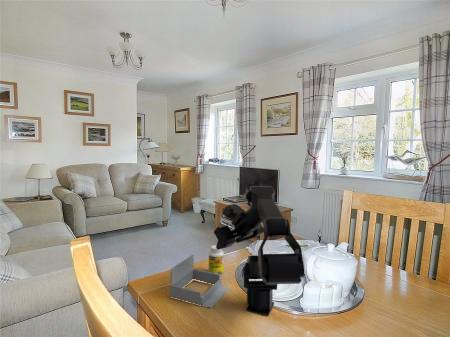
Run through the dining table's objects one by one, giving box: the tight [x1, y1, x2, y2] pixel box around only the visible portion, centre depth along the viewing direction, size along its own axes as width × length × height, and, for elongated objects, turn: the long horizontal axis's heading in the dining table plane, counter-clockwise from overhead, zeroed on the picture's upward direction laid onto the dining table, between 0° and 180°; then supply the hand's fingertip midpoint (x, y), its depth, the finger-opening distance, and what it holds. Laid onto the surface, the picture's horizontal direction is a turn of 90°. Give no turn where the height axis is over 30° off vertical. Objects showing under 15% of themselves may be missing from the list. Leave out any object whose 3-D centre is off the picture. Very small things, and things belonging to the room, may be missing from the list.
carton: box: [169, 254, 230, 309], centre depth 84 cm, size 14×13×9 cm
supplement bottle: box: [208, 244, 225, 277], centre depth 97 cm, size 6×6×10 cm
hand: (226, 244), depth 89 cm, fingers open, 9 cm apart
